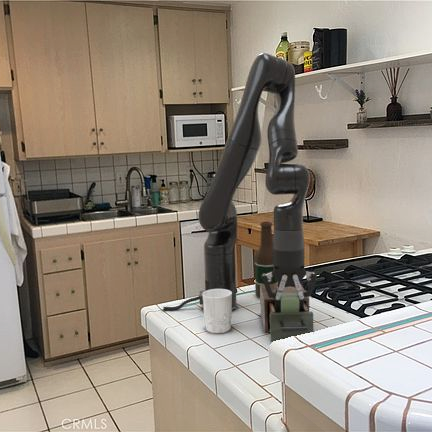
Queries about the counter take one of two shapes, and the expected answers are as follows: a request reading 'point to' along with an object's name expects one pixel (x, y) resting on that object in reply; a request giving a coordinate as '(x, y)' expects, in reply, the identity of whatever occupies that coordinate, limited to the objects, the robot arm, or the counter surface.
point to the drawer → (288, 323)
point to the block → (289, 302)
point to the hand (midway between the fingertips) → (289, 312)
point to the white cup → (217, 310)
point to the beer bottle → (264, 256)
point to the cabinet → (265, 299)
